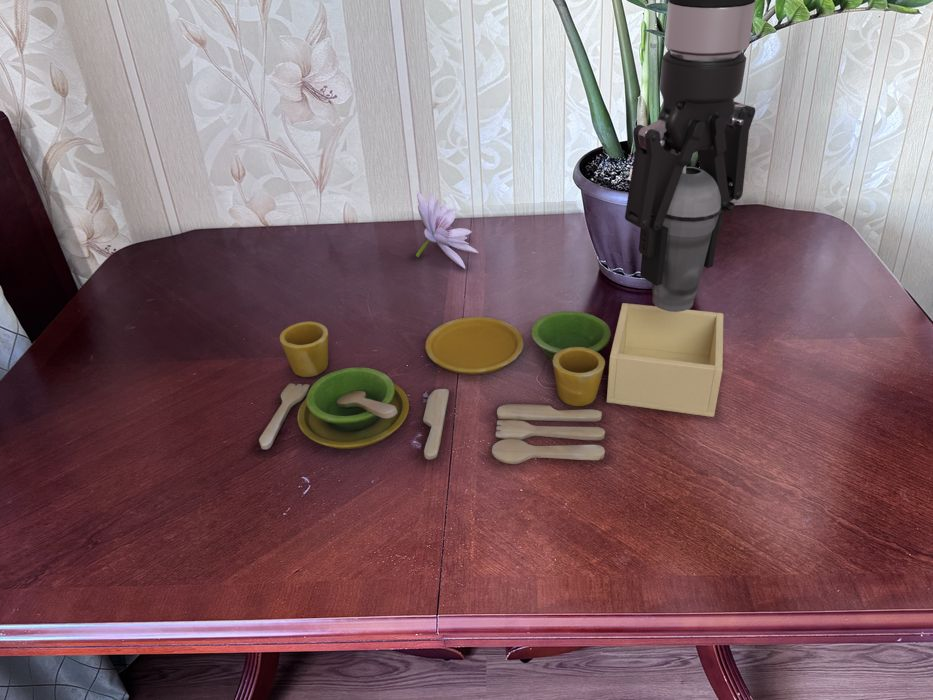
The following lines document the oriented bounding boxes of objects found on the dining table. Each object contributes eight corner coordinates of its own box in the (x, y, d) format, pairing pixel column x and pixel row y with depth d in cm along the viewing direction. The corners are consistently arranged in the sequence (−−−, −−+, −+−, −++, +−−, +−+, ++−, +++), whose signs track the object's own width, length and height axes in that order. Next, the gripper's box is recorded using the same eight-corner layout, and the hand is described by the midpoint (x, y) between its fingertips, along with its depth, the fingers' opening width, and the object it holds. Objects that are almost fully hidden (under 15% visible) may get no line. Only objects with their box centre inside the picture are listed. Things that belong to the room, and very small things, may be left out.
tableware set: (243, 454, 82) (230, 410, 78) (314, 322, 104) (306, 283, 101) (619, 469, 77) (623, 423, 73) (607, 327, 99) (609, 286, 96)
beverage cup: (703, 322, 79) (733, 139, 68) (635, 313, 81) (653, 134, 70) (708, 290, 85) (736, 116, 74) (644, 282, 87) (662, 112, 76)
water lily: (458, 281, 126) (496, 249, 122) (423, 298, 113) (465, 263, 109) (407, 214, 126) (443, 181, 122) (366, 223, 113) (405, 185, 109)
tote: (715, 357, 92) (723, 313, 89) (713, 417, 83) (722, 370, 79) (618, 346, 96) (622, 302, 92) (606, 402, 86) (609, 356, 82)
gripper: (750, 30, 74) (717, 237, 87) (594, 60, 67) (584, 281, 80) (811, 42, 69) (767, 261, 82) (648, 76, 61) (628, 311, 74)
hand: (676, 270), depth 81 cm, fingers closed on beverage cup, 6 cm apart
